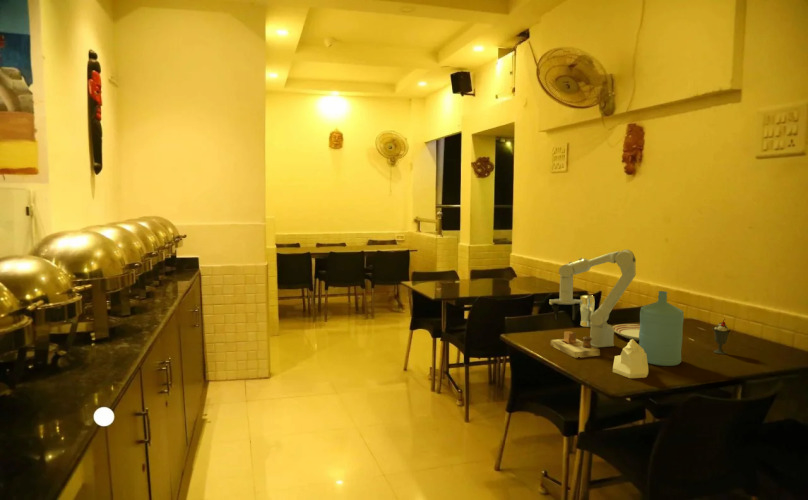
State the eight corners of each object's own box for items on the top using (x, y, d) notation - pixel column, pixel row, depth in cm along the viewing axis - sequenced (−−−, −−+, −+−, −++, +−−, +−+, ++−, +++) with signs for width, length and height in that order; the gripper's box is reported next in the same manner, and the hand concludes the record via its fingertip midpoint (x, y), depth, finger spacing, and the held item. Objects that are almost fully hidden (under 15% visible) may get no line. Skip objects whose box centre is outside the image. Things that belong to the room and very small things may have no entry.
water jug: (679, 369, 197) (683, 297, 194) (635, 362, 206) (638, 293, 203) (682, 358, 211) (686, 290, 207) (640, 352, 219) (643, 286, 216)
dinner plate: (633, 326, 261) (633, 320, 260) (688, 339, 238) (688, 332, 238) (599, 335, 246) (599, 328, 245) (654, 349, 223) (654, 342, 222)
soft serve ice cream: (660, 381, 189) (664, 348, 184) (619, 385, 189) (621, 351, 184) (645, 362, 201) (648, 330, 196) (606, 365, 201) (608, 333, 196)
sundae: (723, 356, 213) (725, 320, 212) (707, 351, 219) (709, 317, 218) (732, 353, 216) (735, 318, 215) (717, 349, 222) (719, 315, 221)
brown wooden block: (570, 346, 227) (571, 330, 226) (575, 348, 224) (576, 333, 223) (563, 347, 226) (564, 331, 225) (568, 349, 223) (568, 333, 222)
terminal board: (574, 343, 232) (574, 329, 231) (599, 355, 214) (600, 340, 214) (550, 345, 228) (550, 331, 228) (574, 358, 211) (575, 342, 210)
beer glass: (594, 327, 258) (595, 298, 256) (580, 327, 259) (581, 297, 258) (592, 324, 265) (593, 295, 263) (578, 323, 266) (579, 294, 264)
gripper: (552, 292, 231) (551, 321, 232) (585, 292, 230) (584, 322, 232) (548, 289, 238) (547, 318, 239) (580, 289, 237) (579, 318, 239)
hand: (565, 319), depth 236 cm, fingers open, 7 cm apart
